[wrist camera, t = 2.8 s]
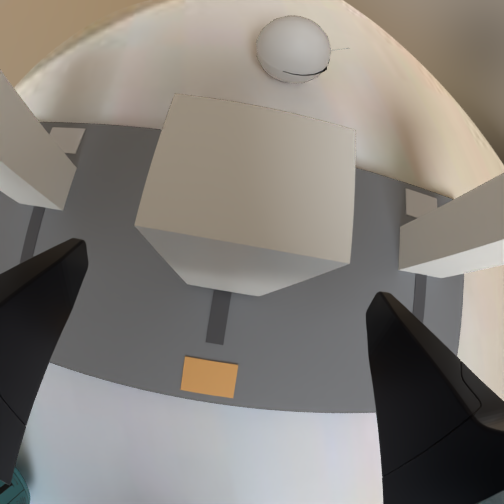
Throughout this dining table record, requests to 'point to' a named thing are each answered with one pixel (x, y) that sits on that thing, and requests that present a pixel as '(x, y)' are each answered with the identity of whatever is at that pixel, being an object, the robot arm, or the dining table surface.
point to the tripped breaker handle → (249, 195)
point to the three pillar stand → (223, 302)
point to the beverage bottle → (14, 490)
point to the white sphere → (293, 49)
